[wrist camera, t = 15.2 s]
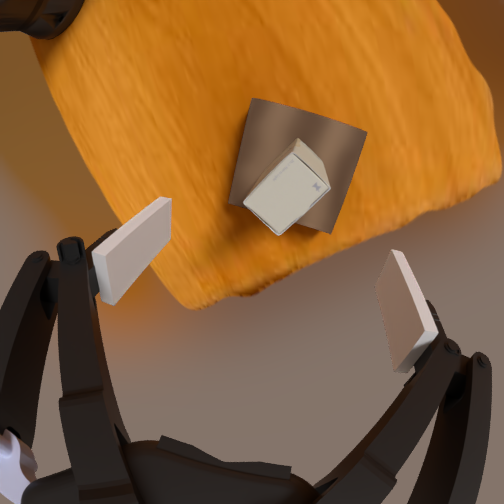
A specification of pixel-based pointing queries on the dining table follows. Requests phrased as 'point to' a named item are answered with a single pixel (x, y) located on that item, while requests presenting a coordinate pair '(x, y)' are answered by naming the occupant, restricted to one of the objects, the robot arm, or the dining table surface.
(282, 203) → the skincare box
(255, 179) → the plate
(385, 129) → the dining table surface
